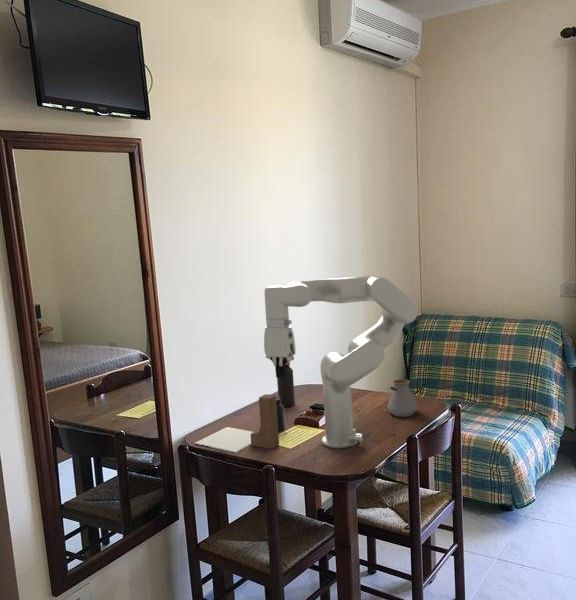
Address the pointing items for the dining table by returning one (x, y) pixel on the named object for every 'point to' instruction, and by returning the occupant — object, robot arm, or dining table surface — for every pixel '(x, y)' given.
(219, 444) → the off-white mat
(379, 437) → the dining table surface
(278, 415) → the supplement bottle
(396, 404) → the coffee pot
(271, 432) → the wooden block
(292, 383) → the vinegar
